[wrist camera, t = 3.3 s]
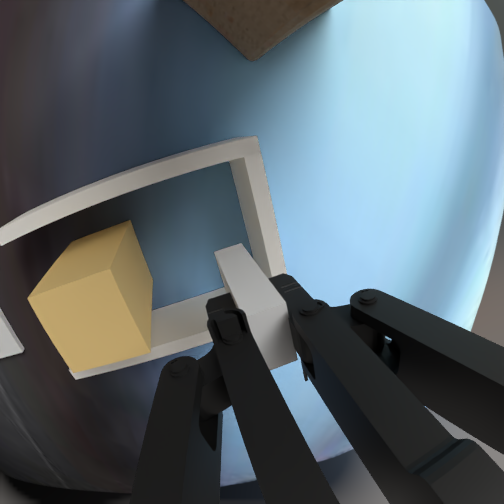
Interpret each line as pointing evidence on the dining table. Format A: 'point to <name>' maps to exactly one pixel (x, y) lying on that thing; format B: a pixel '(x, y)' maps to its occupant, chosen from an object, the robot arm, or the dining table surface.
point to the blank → (97, 299)
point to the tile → (8, 339)
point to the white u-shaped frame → (233, 150)
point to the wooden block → (258, 20)
